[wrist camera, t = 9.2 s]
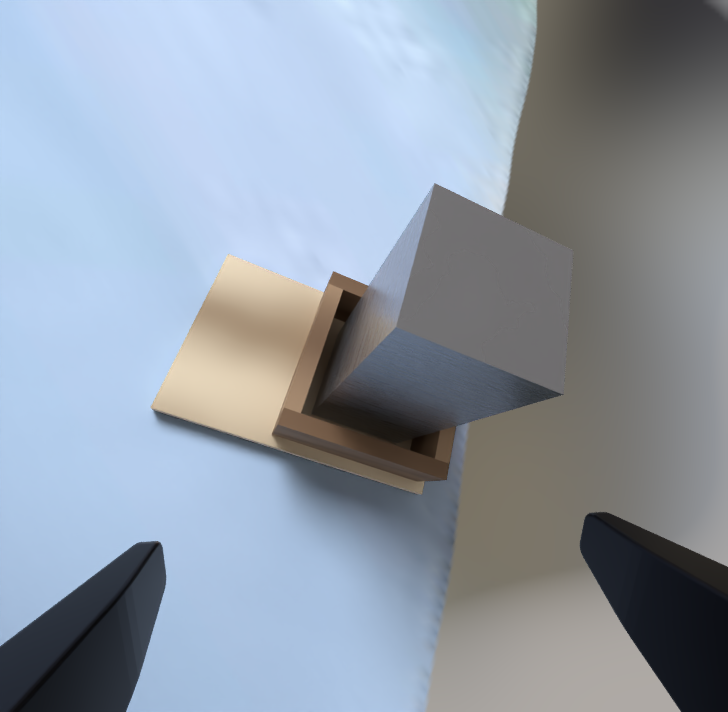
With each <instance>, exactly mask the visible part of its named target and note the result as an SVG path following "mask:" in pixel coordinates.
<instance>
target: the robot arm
mask: <svg viewBox="0 0 728 712" xmlns="http://www.w3.org/2000/svg"><path fill="white" fill-rule="evenodd" d="M580 550H581V553H582V555H583V558H584V559H585V561H586V563H587V564H588V566H589V568H590V569H591V571H592V573H593V575H594V577H595V578H596V580H597V582H598V584H599V585H600V587H601V589H602V591H603V592H604V594H605V596H606V598H607V599H608V601H609V603H610V605H611V606H612V608H613V610H614V612H615V613H616V615H617V617H618V618H619V620H620V622H621V623H622V625H623V627H624V628H625V630H626V631H627V633H628V634H629V636H630V637H631V639H632V640H633V642H634V643H635V645H636V646H637V648H638V649H639V651H640V652H641V653H642V655H643V656H644V658H645V659H646V661H647V662H648V664H649V665H650V667H651V668H652V670H653V671H654V673H655V674H656V676H657V677H658V679H659V680H660V681H661V683H662V684H663V686H664V687H665V689H666V690H667V692H668V693H669V695H670V696H671V698H672V699H673V700H674V702H675V703H676V705H677V706H678V708H679V709H680V711H681V712H728V567H727V566H725V565H722V564H720V563H718V562H716V561H714V560H711V559H709V558H707V557H705V556H702V555H700V554H698V553H696V552H694V551H691V550H689V549H687V548H685V547H683V546H681V545H678V544H676V543H674V542H672V541H670V540H667V539H665V538H663V537H661V536H658V535H656V534H654V533H652V532H650V531H647V530H645V529H643V528H641V527H639V526H636V525H634V524H632V523H630V522H627V521H625V520H623V519H621V518H619V517H617V516H614V515H612V514H610V513H607V512H595V513H589V514H588V515H587V516H586V517H585V520H584V525H583V530H582V535H581V540H580ZM165 585H166V570H165V562H164V554H163V547H162V545H161V543H160V542H158V541H151V542H139V543H136V544H135V545H133V546H132V547H131V548H129V549H128V550H127V551H125V552H124V553H123V554H121V555H120V556H119V557H118V558H116V559H115V560H114V561H112V562H111V563H110V564H108V565H107V566H106V567H104V568H103V569H102V570H100V571H99V572H98V573H96V574H95V575H94V576H92V577H91V578H90V579H88V580H87V581H86V582H85V583H83V584H82V585H81V586H79V587H78V588H77V589H75V590H74V591H73V592H71V593H70V594H69V595H67V596H66V597H65V598H63V599H62V600H61V601H59V602H58V603H57V604H55V605H54V606H53V607H52V608H50V609H49V610H48V611H46V612H45V613H44V614H42V615H41V616H40V617H38V618H37V619H36V620H34V621H33V622H32V623H30V624H29V625H28V626H26V627H25V628H24V629H22V630H21V631H20V632H19V633H17V634H16V635H15V636H13V637H12V638H11V639H9V640H8V641H7V642H5V643H4V644H3V645H1V646H0V712H126V710H127V708H128V705H129V703H130V700H131V698H132V695H133V692H134V690H135V687H136V684H137V681H138V679H139V675H140V672H141V669H142V666H143V663H144V659H145V656H146V652H147V649H148V645H149V642H150V638H151V635H152V631H153V628H154V625H155V621H156V618H157V614H158V611H159V607H160V604H161V600H162V597H163V593H164V590H165Z"/></svg>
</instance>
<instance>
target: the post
mask: <svg viewBox="0 0 728 712" xmlns="http://www.w3.org/2000/svg"><path fill="white" fill-rule="evenodd" d="M572 263H573V250H571V249H569V248H567V247H565V246H563V245H561V244H559V243H556V242H555V241H552V240H551V239H549V238H546V237H544V236H542V235H540V234H538V233H536V232H534V231H532V230H530V229H528V228H526V227H524V226H522V225H520V224H518V223H516V222H514V221H512V220H509V219H507V218H505V217H503V216H501V215H499V214H497V213H495V212H493V211H491V210H489V209H487V208H485V207H483V206H481V205H479V204H476V203H474V202H472V201H470V200H468V199H466V198H464V197H462V196H460V195H458V194H456V193H454V192H452V191H450V190H448V189H446V188H444V187H441V186H439V185H437V184H434V185H433V187H432V188H431V190H430V191H429V193H428V194H427V196H426V198H425V199H424V201H423V202H422V204H421V205H420V207H419V208H418V210H417V212H416V213H415V215H414V216H413V218H412V219H411V221H410V222H409V224H408V226H407V227H406V229H405V230H404V232H403V233H402V235H401V236H400V238H399V239H398V241H397V243H396V244H395V246H394V247H393V249H392V250H391V252H390V253H389V255H388V257H387V258H386V260H385V261H384V263H383V264H382V266H381V267H380V269H379V271H378V272H377V274H376V275H375V277H374V278H373V280H372V281H371V283H370V285H369V286H368V288H367V289H366V291H365V292H364V294H363V295H362V297H361V299H360V300H359V302H358V303H357V305H356V306H355V308H354V309H353V311H352V313H351V314H350V316H349V317H348V319H347V320H346V322H345V323H344V325H343V327H342V328H341V330H340V331H339V333H338V335H337V338H336V341H335V344H334V347H333V350H332V353H331V356H330V359H329V362H328V365H327V368H326V371H325V374H324V377H323V380H322V383H321V386H320V389H319V392H318V395H317V398H316V401H315V404H314V407H313V410H312V413H311V414H312V415H315V416H318V417H321V418H324V419H327V420H330V421H333V422H336V423H338V424H341V425H344V426H347V427H350V428H353V429H356V430H359V431H362V432H365V433H368V434H370V435H373V436H376V437H379V438H382V439H385V440H388V441H391V442H394V443H400V442H403V441H406V440H410V439H413V438H417V437H420V436H424V435H427V434H430V433H434V432H437V431H441V430H444V429H448V428H451V427H454V426H458V425H461V424H465V423H468V422H472V421H475V420H478V419H481V418H485V417H489V416H492V415H496V414H499V413H502V412H506V411H509V410H513V409H516V408H520V407H523V406H526V405H530V404H533V403H537V402H540V401H544V400H547V399H550V398H554V397H557V396H561V395H563V394H564V381H565V366H566V350H567V337H568V322H569V306H570V292H571V278H572V277H571V276H572Z"/></svg>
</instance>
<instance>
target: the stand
mask: <svg viewBox="0 0 728 712" xmlns="http://www.w3.org/2000/svg"><path fill="white" fill-rule="evenodd" d="M367 288H368V286H367V285H365V284H362V283H360V282H358V281H355V280H353V279H350V278H348V277H346V276H343V275H341V274H338V273H336V272H334V271H333V273H332V276H331V278H330V280H329V282H328V285H327V287H326V289H325V291H324V292H321V291H319V290H316V289H314V288H311V287H309V286H307V285H304V284H302V283H299V282H297V281H294V280H292V279H289V278H287V277H284V276H282V275H279V274H277V273H274V272H272V271H269V270H267V269H264V268H262V267H259V266H257V265H254V264H252V263H249V262H247V261H244V260H242V259H240V258H237V257H235V256H232V255H230V254H228V255H227V257H226V259H225V261H224V263H223V265H222V267H221V269H220V271H219V273H218V275H217V277H216V279H215V281H214V283H213V285H212V287H211V289H210V291H209V293H208V295H207V297H206V299H205V301H204V303H203V305H202V307H201V309H200V311H199V313H198V314H197V316H196V318H195V320H194V322H193V324H192V326H191V328H190V330H189V332H188V334H187V336H186V338H185V340H184V342H183V344H182V346H181V348H180V350H179V352H178V354H177V356H176V358H175V360H174V362H173V364H172V366H171V368H170V370H169V372H168V374H167V376H166V378H165V380H164V382H163V384H162V386H161V388H160V390H159V392H158V394H157V396H156V398H155V400H154V402H153V404H152V406H151V409H152V410H154V411H157V412H160V413H164V414H167V415H170V416H173V417H176V418H179V419H182V420H186V421H189V422H192V423H195V424H198V425H201V426H204V427H208V428H211V429H214V430H217V431H220V432H223V433H226V434H230V435H233V436H236V437H239V438H242V439H245V440H248V441H252V442H255V443H258V444H261V445H264V446H267V447H270V448H273V449H277V450H280V451H283V452H286V453H289V454H292V455H295V456H299V457H302V458H305V459H308V460H311V461H314V462H317V463H321V464H324V465H327V466H330V467H333V468H336V469H339V470H343V471H346V472H349V473H352V474H355V475H358V476H361V477H365V478H368V479H371V480H374V481H377V482H380V483H383V484H386V485H390V486H393V487H396V488H399V489H402V490H405V491H408V492H412V493H415V494H422V492H423V487H424V482H425V481H440V480H447V474H448V469H449V463H450V457H451V452H452V446H453V440H454V435H455V429H456V426H454V427H451V428H448V429H444V430H441V431H437V432H434V433H430V434H427V435H424V436H420V437H417V438H413V439H410V440H406V441H403V442H400V443H394V442H391V441H388V440H385V439H382V438H379V437H376V436H373V435H370V434H368V433H365V432H362V431H359V430H356V429H353V428H350V427H347V426H344V425H341V424H338V423H336V422H333V421H330V420H327V419H324V418H321V417H318V416H315V415H312V414H311V413H312V410H313V407H314V404H315V401H316V398H317V395H318V392H319V389H320V386H321V383H322V380H323V377H324V374H325V371H326V368H327V365H328V362H329V359H330V356H331V353H332V350H333V347H334V344H335V341H336V338H337V335H338V333H339V331H340V330H341V328H342V327H343V325H344V323H345V322H346V320H347V319H348V317H349V316H350V314H351V313H352V311H353V309H354V308H355V306H356V305H357V303H358V302H359V300H360V299H361V297H362V295H363V294H364V292H365V291H366V289H367Z"/></svg>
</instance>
